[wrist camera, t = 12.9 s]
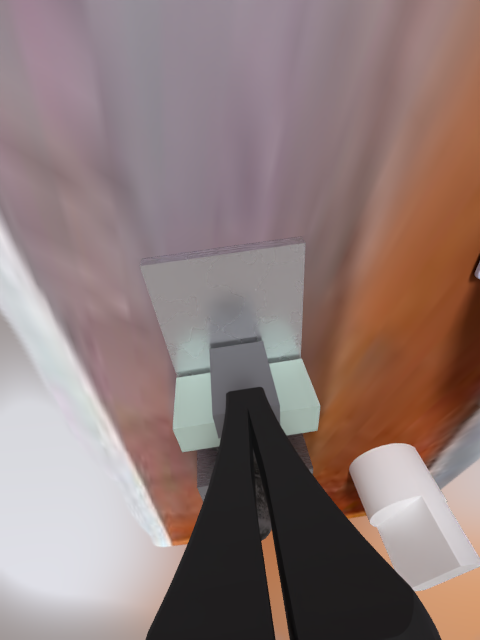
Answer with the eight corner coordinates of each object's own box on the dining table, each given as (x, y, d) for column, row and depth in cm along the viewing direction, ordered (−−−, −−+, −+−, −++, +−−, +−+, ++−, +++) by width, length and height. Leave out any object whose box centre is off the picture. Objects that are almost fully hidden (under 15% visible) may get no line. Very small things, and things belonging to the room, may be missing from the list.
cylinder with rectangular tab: (373, 440, 36) (437, 566, 26) (431, 446, 38) (508, 562, 29) (336, 477, 41) (379, 594, 31) (389, 479, 43) (443, 588, 34)
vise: (300, 236, 19) (334, 283, 14) (295, 427, 32) (311, 484, 27) (142, 258, 18) (123, 313, 14) (202, 442, 32) (203, 502, 27)
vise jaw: (302, 334, 22) (329, 397, 18) (300, 383, 25) (322, 445, 21) (168, 355, 22) (161, 423, 17) (184, 401, 25) (181, 468, 21)
